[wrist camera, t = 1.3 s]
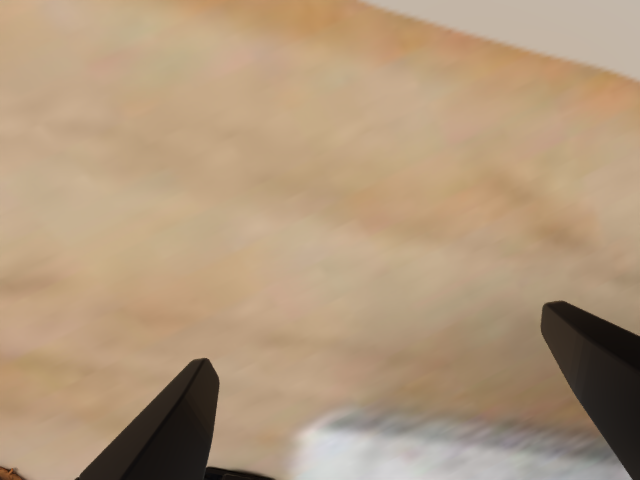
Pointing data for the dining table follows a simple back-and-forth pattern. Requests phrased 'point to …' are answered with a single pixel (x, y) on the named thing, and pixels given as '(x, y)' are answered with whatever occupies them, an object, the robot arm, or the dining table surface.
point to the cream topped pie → (8, 475)
